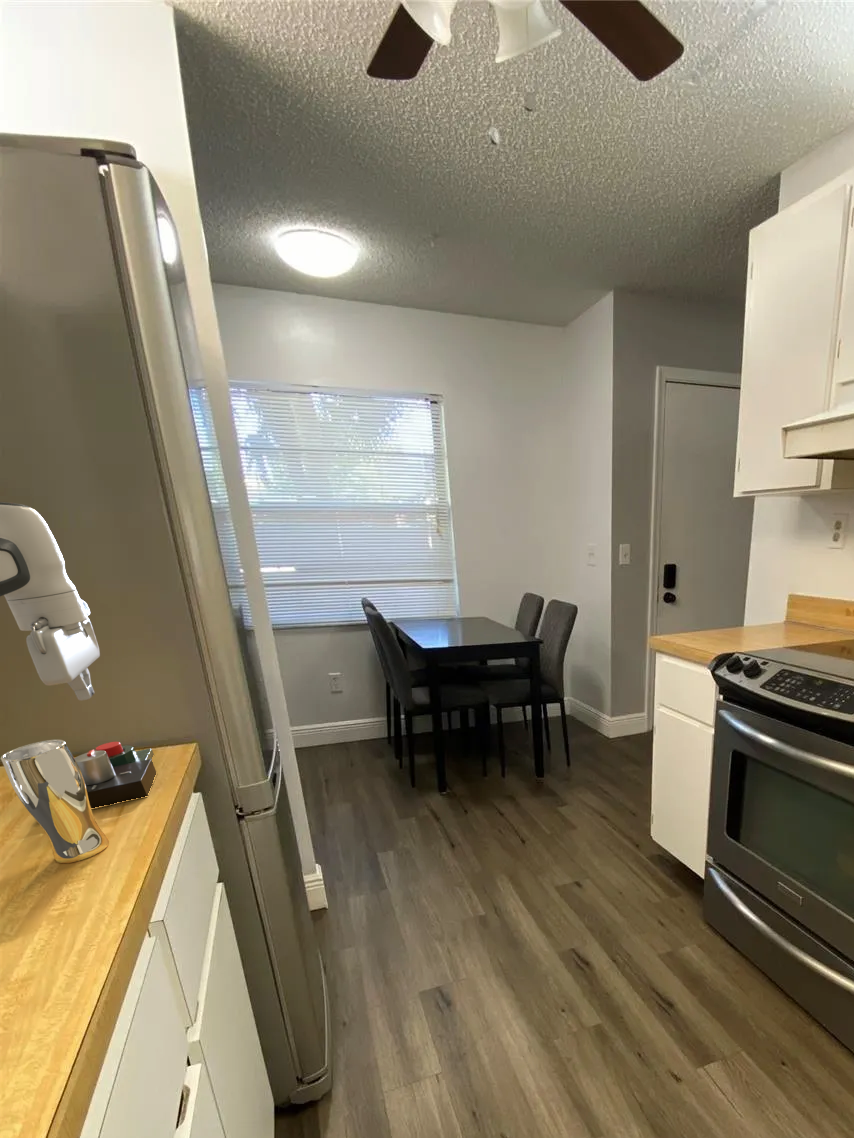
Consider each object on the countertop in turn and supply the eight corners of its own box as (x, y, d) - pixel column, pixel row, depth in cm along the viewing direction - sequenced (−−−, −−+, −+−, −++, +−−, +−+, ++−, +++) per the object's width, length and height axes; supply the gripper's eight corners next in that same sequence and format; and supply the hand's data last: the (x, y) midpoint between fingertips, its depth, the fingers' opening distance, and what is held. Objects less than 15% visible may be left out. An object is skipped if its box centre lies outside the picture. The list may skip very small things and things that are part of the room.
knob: (112, 780, 100) (101, 755, 98) (79, 787, 98) (68, 762, 97) (118, 770, 104) (107, 746, 102) (86, 777, 102) (75, 752, 100)
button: (97, 760, 107) (92, 751, 106) (102, 753, 110) (97, 744, 109) (121, 755, 108) (117, 746, 108) (125, 749, 111) (121, 739, 111)
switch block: (80, 789, 106) (70, 768, 104) (92, 772, 112) (82, 752, 111) (148, 774, 109) (139, 753, 107) (155, 759, 116) (147, 738, 114)
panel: (50, 819, 96) (41, 801, 95) (68, 794, 104) (60, 777, 103) (147, 797, 100) (140, 779, 99) (157, 774, 109) (150, 757, 107)
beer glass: (113, 851, 85) (65, 748, 78) (49, 871, 81) (-6, 766, 75) (113, 832, 90) (68, 734, 84) (53, 850, 87) (2, 749, 80)
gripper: (55, 620, 91) (94, 710, 97) (89, 602, 109) (121, 679, 114) (1, 628, 89) (45, 719, 95) (45, 608, 107) (80, 686, 112)
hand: (87, 697), depth 105 cm, fingers closed
